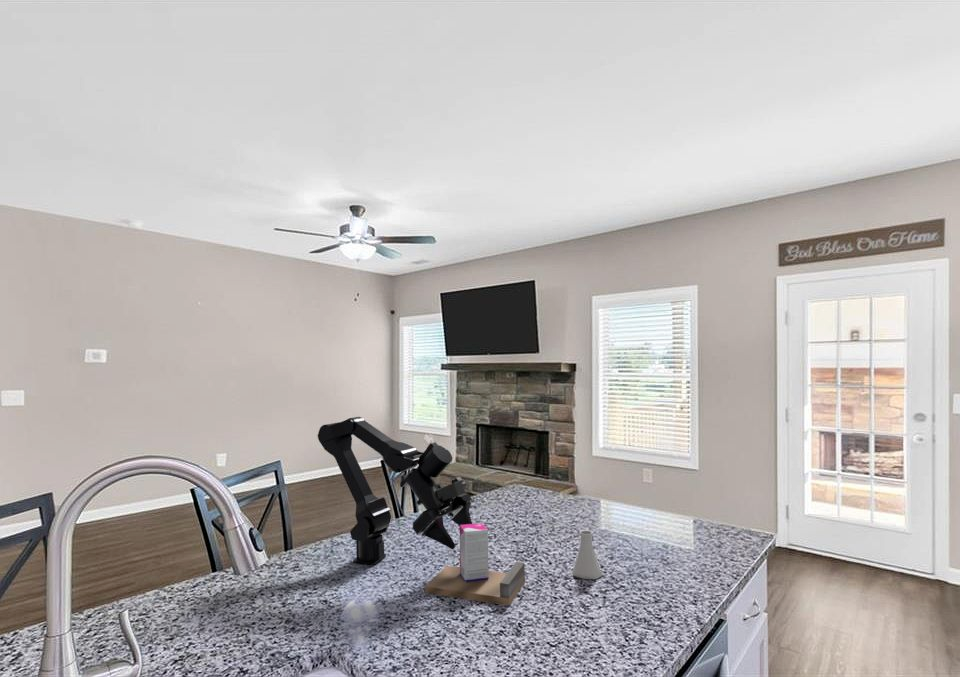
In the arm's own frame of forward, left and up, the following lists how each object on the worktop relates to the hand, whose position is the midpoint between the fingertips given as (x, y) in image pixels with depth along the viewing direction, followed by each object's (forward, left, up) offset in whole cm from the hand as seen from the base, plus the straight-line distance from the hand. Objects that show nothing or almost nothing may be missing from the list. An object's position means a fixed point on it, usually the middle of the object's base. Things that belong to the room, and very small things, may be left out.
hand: (464, 541), depth 123 cm
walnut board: (+4, -2, -9) cm, 10 cm away
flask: (+27, +13, -9) cm, 31 cm away
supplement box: (+2, 0, -8) cm, 8 cm away
